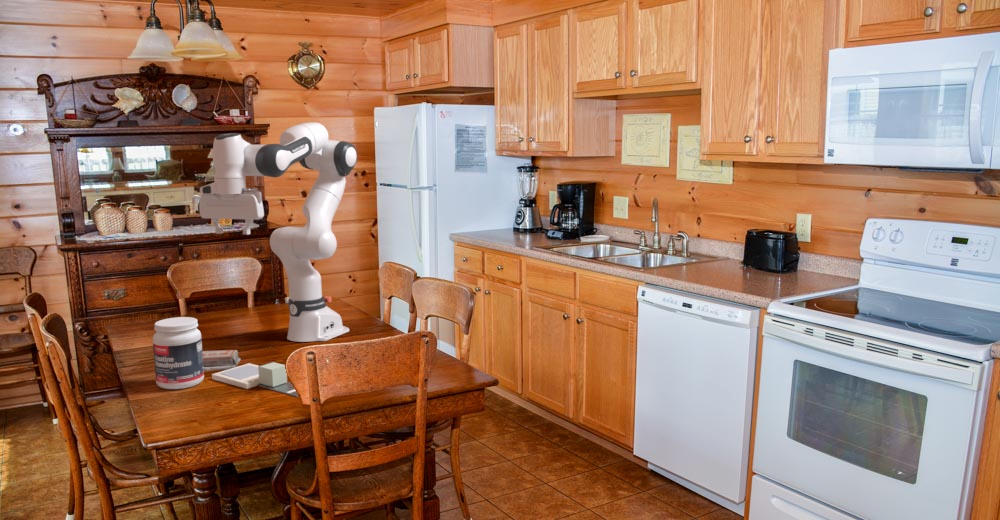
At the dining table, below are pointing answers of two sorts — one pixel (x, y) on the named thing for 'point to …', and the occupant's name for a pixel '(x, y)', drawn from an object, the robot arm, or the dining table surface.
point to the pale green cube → (272, 374)
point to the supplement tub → (178, 353)
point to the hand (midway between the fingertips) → (233, 233)
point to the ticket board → (250, 379)
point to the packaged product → (220, 359)
